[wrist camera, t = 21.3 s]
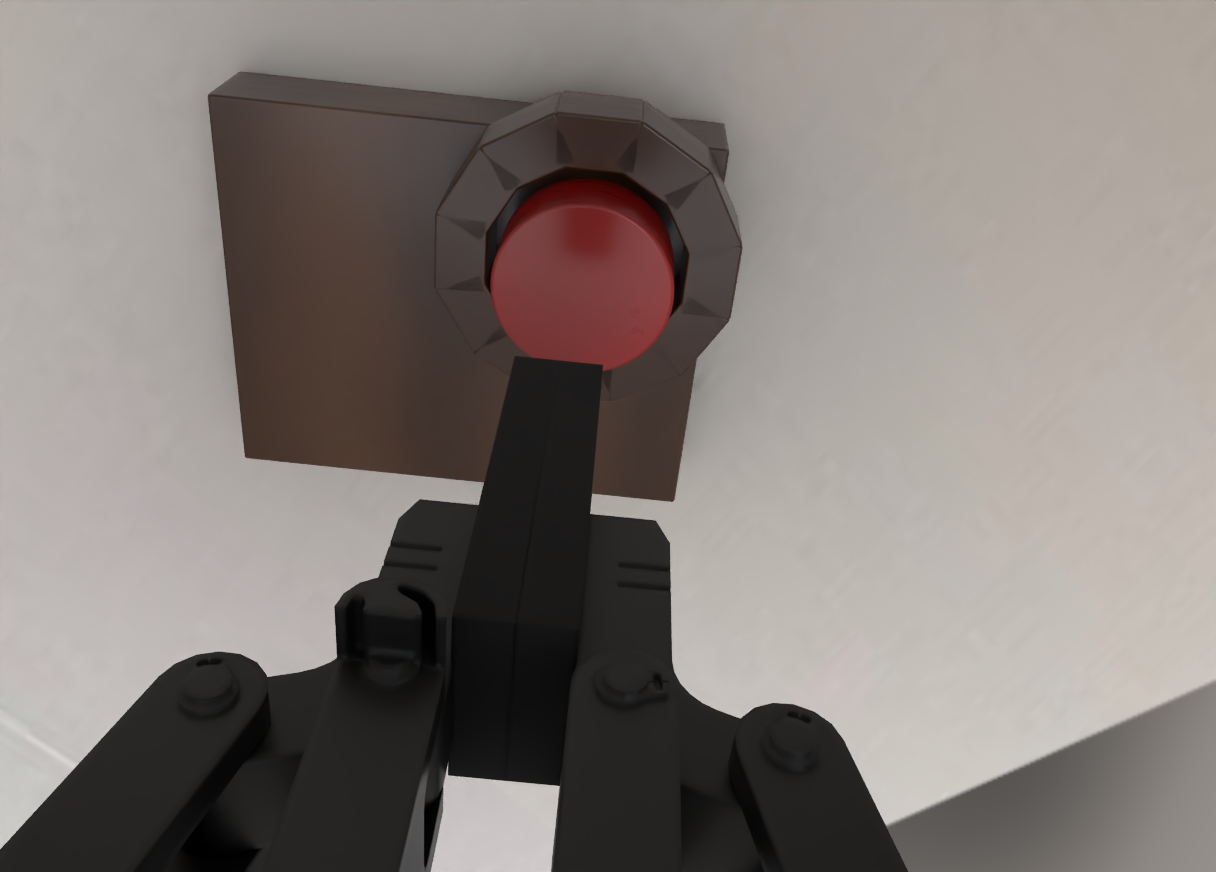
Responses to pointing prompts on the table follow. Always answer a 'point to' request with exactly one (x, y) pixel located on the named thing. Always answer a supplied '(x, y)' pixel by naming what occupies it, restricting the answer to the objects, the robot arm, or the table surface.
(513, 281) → the button
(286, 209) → the control block
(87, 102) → the table surface
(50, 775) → the table surface
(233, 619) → the table surface
